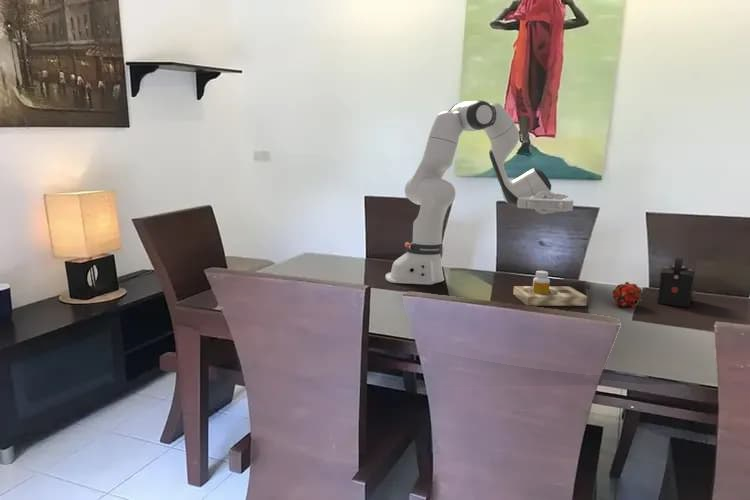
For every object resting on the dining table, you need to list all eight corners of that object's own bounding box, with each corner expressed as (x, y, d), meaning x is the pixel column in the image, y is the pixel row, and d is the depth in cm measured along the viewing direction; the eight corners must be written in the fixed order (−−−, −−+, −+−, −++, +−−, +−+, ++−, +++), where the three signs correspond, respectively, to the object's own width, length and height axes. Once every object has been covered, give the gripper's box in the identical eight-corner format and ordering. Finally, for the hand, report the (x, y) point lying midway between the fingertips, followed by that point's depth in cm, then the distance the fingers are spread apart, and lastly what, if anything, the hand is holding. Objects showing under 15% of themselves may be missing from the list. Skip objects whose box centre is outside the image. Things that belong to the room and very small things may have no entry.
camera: (694, 300, 197) (699, 257, 194) (692, 309, 185) (698, 264, 182) (659, 295, 202) (664, 254, 200) (656, 303, 190) (661, 260, 188)
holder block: (527, 305, 184) (528, 296, 183) (513, 294, 198) (513, 285, 197) (586, 305, 186) (587, 296, 185) (568, 294, 199) (569, 286, 199)
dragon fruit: (635, 307, 191) (621, 319, 182) (615, 289, 194) (600, 300, 186) (652, 291, 185) (638, 302, 177) (631, 273, 189) (616, 283, 180)
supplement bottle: (550, 302, 189) (552, 273, 187) (534, 301, 189) (536, 273, 187) (545, 298, 194) (547, 270, 192) (529, 297, 194) (532, 269, 192)
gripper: (517, 193, 223) (516, 195, 210) (572, 195, 218) (574, 198, 205) (516, 209, 224) (515, 212, 211) (570, 211, 219) (573, 215, 206)
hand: (545, 205), depth 208 cm, fingers open, 8 cm apart
